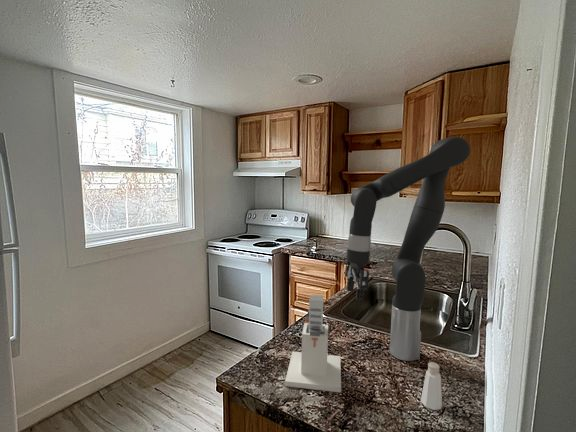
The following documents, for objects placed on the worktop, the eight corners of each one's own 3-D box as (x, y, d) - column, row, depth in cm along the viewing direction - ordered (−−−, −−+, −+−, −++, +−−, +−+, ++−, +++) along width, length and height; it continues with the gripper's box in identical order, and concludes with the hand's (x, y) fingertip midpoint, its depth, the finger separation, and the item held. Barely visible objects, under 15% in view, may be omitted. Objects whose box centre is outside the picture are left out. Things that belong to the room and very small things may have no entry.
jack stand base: (340, 360, 101) (341, 316, 99) (341, 392, 85) (342, 341, 84) (292, 355, 103) (293, 312, 102) (284, 386, 88) (285, 335, 86)
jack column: (321, 363, 96) (323, 295, 94) (320, 371, 91) (322, 301, 89) (308, 361, 96) (310, 295, 94) (307, 370, 92) (309, 300, 90)
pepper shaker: (435, 413, 78) (438, 373, 77) (416, 401, 82) (418, 363, 81) (446, 405, 81) (449, 366, 80) (427, 393, 85) (429, 356, 84)
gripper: (378, 253, 94) (374, 303, 96) (360, 244, 108) (356, 288, 110) (356, 252, 93) (351, 303, 95) (340, 243, 107) (337, 287, 109)
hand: (354, 295), depth 102 cm, fingers open, 8 cm apart
